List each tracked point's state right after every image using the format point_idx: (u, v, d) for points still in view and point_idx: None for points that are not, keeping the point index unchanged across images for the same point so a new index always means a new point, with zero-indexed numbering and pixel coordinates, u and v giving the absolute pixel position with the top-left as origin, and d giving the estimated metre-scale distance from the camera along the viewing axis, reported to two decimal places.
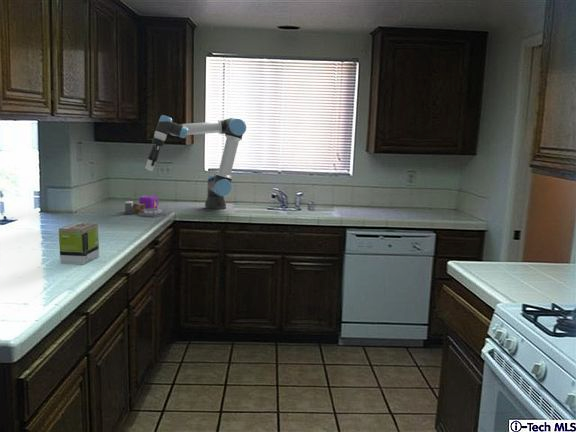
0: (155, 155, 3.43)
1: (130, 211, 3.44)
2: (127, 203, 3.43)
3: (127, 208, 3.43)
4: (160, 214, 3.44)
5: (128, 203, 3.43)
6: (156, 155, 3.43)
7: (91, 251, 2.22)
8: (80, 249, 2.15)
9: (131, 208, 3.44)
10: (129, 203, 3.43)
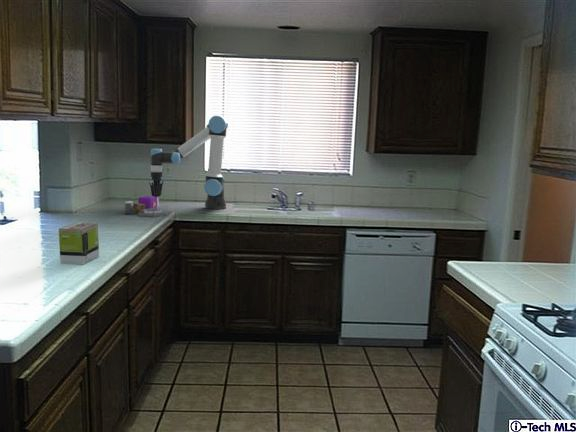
0: (152, 191, 3.67)
1: (130, 211, 3.44)
2: (127, 203, 3.43)
3: (127, 208, 3.43)
4: (160, 214, 3.44)
5: (128, 203, 3.43)
6: (152, 191, 3.67)
7: (91, 251, 2.22)
8: (80, 249, 2.15)
9: (131, 208, 3.44)
10: (129, 203, 3.43)
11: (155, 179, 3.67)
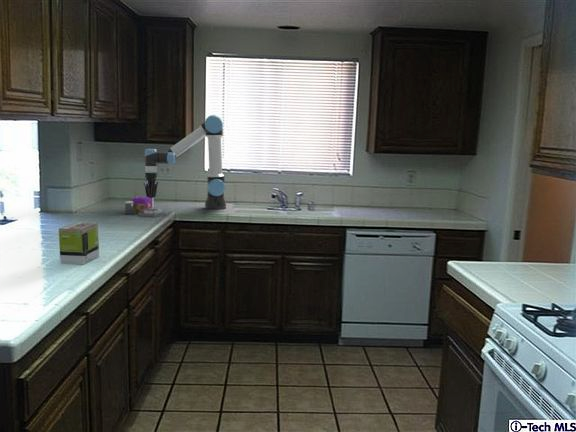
0: (146, 192, 3.62)
1: (130, 211, 3.44)
2: (127, 203, 3.43)
3: (127, 208, 3.43)
4: (160, 214, 3.44)
5: (128, 203, 3.43)
6: (147, 192, 3.62)
7: (91, 251, 2.22)
8: (80, 249, 2.15)
9: (131, 208, 3.44)
10: (129, 203, 3.43)
11: (150, 180, 3.61)
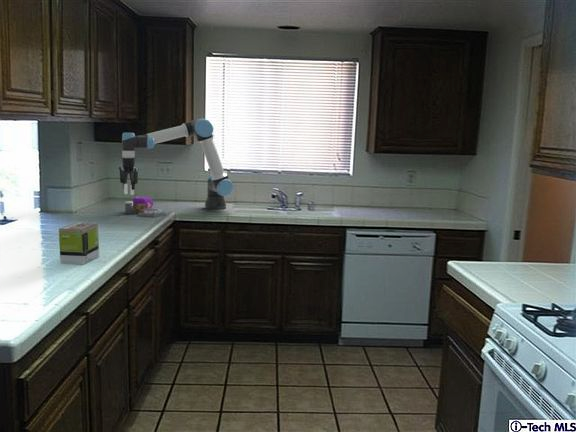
0: None
1: (130, 211, 3.44)
2: (127, 203, 3.43)
3: (127, 208, 3.43)
4: (160, 214, 3.44)
5: (128, 203, 3.43)
6: None
7: (91, 251, 2.22)
8: (80, 249, 2.15)
9: (131, 208, 3.44)
10: (129, 203, 3.43)
11: (124, 165, 3.41)
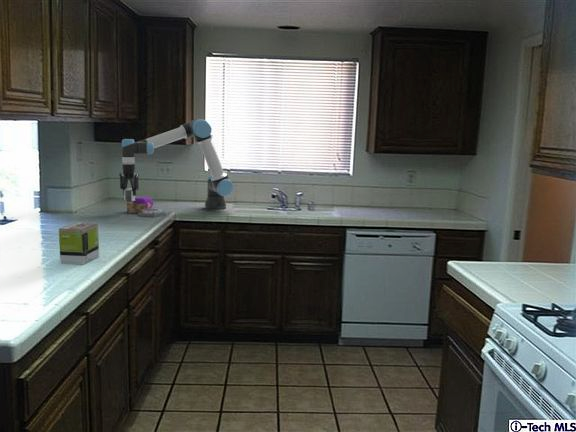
0: None
1: None
2: (128, 190, 3.42)
3: (128, 195, 3.42)
4: (160, 214, 3.44)
5: (129, 190, 3.42)
6: None
7: (91, 251, 2.22)
8: (80, 249, 2.15)
9: None
10: (130, 190, 3.42)
11: (124, 172, 3.42)
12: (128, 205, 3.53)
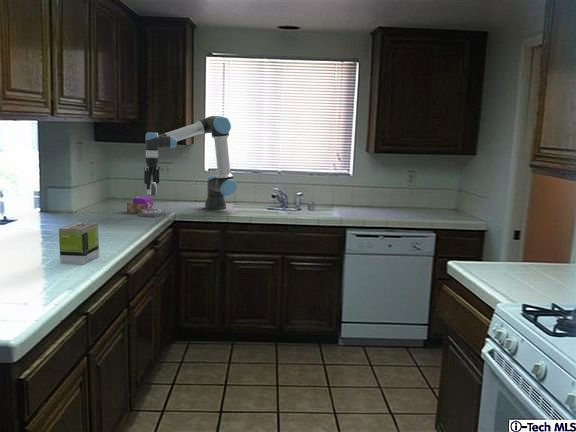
0: (145, 178, 3.36)
1: None
2: (155, 183, 3.42)
3: (155, 188, 3.43)
4: (160, 214, 3.44)
5: (155, 183, 3.43)
6: (146, 178, 3.36)
7: (91, 251, 2.22)
8: (80, 249, 2.15)
9: None
10: None
11: (150, 166, 3.38)
12: (128, 205, 3.53)
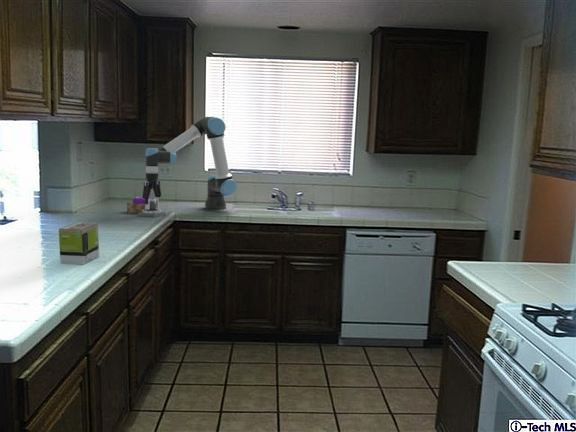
0: (144, 193, 3.36)
1: None
2: (155, 200, 3.44)
3: (155, 205, 3.44)
4: (160, 214, 3.44)
5: None
6: (144, 192, 3.36)
7: (91, 251, 2.22)
8: (80, 249, 2.15)
9: None
10: None
11: (151, 181, 3.40)
12: (128, 205, 3.53)
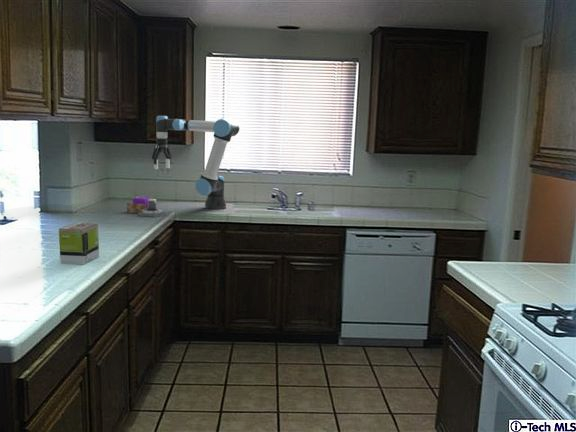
0: (153, 154, 3.73)
1: None
2: None
3: (155, 205, 3.44)
4: (160, 214, 3.44)
5: None
6: (154, 153, 3.72)
7: (91, 251, 2.22)
8: (80, 249, 2.15)
9: None
10: None
11: (161, 146, 3.77)
12: (128, 205, 3.53)
